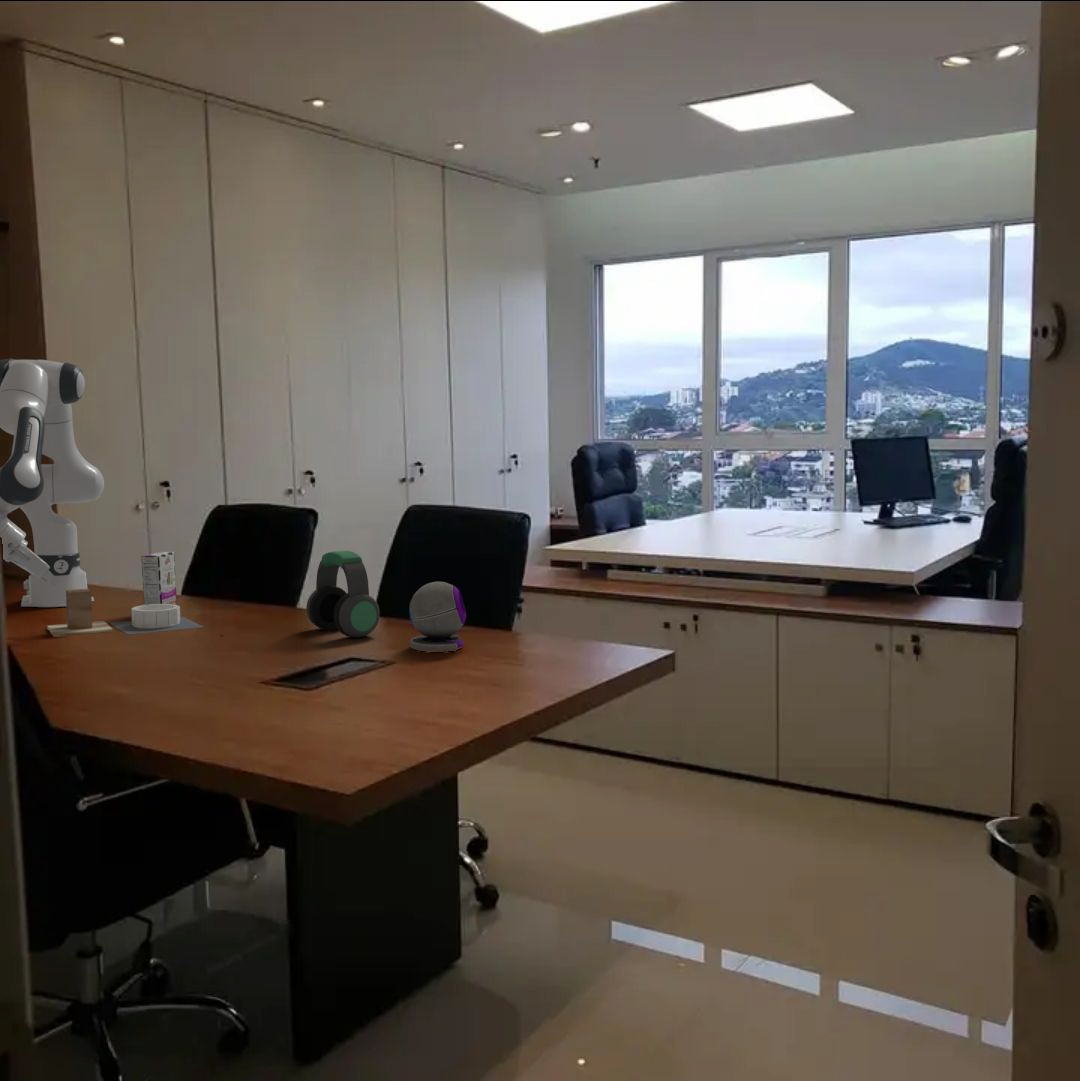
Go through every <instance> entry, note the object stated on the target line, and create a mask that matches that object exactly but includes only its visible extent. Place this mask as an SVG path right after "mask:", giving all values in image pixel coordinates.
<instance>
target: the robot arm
mask: <svg viewBox="0 0 1080 1081" xmlns="http://www.w3.org/2000/svg"><path fill="white" fill-rule="evenodd" d="M85 387H86V382H85V377H84V374H83V370H81V368H80V367H79V366H78V365H76V364H73V363H69V362H59V361H55V360H46V359H14V358H5V359H0V429H1V430H3V431H4V432H5V433H8V434H10V435H11V436H13V442H12V449H11V454H10V457H9V459H8V460H7V461H6V462H5V464H3V465H2V466H1V467H0V537H1V538H2V544H3V560H4V561H5V562H7V563H10V562H11V563H13V564H14V565H16V566H18V567H19V568H21V569H23V570H24V571H26V572H28V573H29V576H28V579H25V581H23V590H26V591H25V594H26V595H22V599H21V604H20V607H23V608H24V607H25V608H26V607H37V608H58V607H66V590H72V589H88V581H87V573H86V572H85V571H84V570H83V569H81V567H80V565H81V555H80V552H79V550H78V549H79V548H78V543H79V542H78V528H77V525H76V523H75V522H74V521H72V520H71V519H70V518H68V517H64V516H63V515H60V514H58V513H56V512H55V511H54V510H53V509H52V506H53V505H55V504H56V505H58V504H59V505H60V504H62V505H63V504H64V505H65V504H83V503H84V504H85V503H90V502H93V501H98V499H99V498H101V496H102V494H103V492H104V489H105V478H104V476H103V474H102V472H101V471H100V470H99V469H98V468H97V467H96V466H94V465H93V464H91V463H90V462H89V461H87V460H86V459H85V458H84V457H83V456H82V454H81V452H80V451H79V449H78V447H77V444H76V440H75V439H76V438H75V435H74V434H75V433H74V422H73V421H74V419H73V409H72V404H75V403H77V402H78V401H80V399H82V398H83V394H84V391H85ZM43 455H44V456H46V457H48V458H50V459H51V460H52V461H53V462H54V463H49V464H48V463H47V464H46V463H45V464H42V456H43ZM19 508H20V510H21V511H22V512H23V513H24V514H25V516H26V517H27V519H28V522H29V523H30V526H31V530H32V536H33V537H32V538H33V546H34V548H33V549H34V551H32V550H31V549H30V548H29V547H27V545H28V544H29V543H28V541H27V540H25V538H26V536H27V533H26V532H25V531H24V530H22V529H21V528H20V527H19V526H18V525H17V524H15V523H14V522H13V521H12V520H11V519H9V518H8V514H11V513H12V512H13V511H15V510H17V509H19ZM94 601H95V598H94V596H91V602H94Z"/></svg>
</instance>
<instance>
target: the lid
mask: <svg viewBox="0 0 1080 1081" xmlns="http://www.w3.org/2000/svg"><path fill="white" fill-rule="evenodd" d="M91 597H92V590H91V589H89V588H87V589H72V590H66V606H65V607H66V623H61V624H50V625H49V624H48V625H46V626H47V631H48V630H49V631H50V632H51V633H50V632H49V631H48V632H49V633H50V635H51V634H52V635H53V636H54V637H60V638H64V637H63V636H74V635H84V634H85V635H87V634H97V633H99V634H100V633H111V632H112V633H113V632H114V629H113V628H112V627H111V626H110V624H108V623H107V622H106V621H104V620H99V621H93V609H92V608H93V607H92V602H93V601H91ZM52 635H51V636H52ZM53 636H52V637H53ZM54 637H53V638H54Z"/></svg>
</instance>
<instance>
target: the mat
mask: <svg viewBox="0 0 1080 1081" xmlns="http://www.w3.org/2000/svg"><path fill="white" fill-rule="evenodd" d="M109 625H112V626H113V627H115V628H117V629H118V630H120V631H122V632H123V633H124V634H126V635H137V634H147V633H148V634H149V633H159V632H160V633H161V632H166V631H167V632H168V631H179V630H189V629H200V628H204V626H203V625H200V624H198V623H196V622H195V621H192V620H190V619H188V618H186V617H184V616H180V624H179V625H178V626H175V627H170V628H161V629H139V628H134V627H133V623H132V620H130V621H129V620H128V621H117V622H109Z"/></svg>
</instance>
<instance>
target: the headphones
mask: <svg viewBox="0 0 1080 1081" xmlns="http://www.w3.org/2000/svg"><path fill="white" fill-rule="evenodd" d="M340 568H341V569H342V570H343V572H344V576H345V580H346V584H347V586H346V587H347V592H346V591H345V590H344V589H343V588H341V587H338V585H337V583H338V582H337V580H338V573H339V570H340ZM315 583H316V584H315V585H316V586H315V587H316V588H315V590H314V591H312V593H311V594H310V595H309V597H308V599H307V602H306V609H305V610H306V614H307V618H308V619H309V621H310V622H311V623H312V624H313V625H314V626H315V627H317V628H319V629H321V630H323V631H328V630H331V631H335V630H338V631H339V633H341V634H342V635H343V636H346V637H349V638H363V637H366V636H368V635H370V634H372V632H374V630H375V629H376V627H377V626H378V624H379V621H380V614H381V613H380V606H379V604H378V602H377V600H375V598H374V597H372V596H371V595H370V589H369V579H368V573H367V571H366V566H365V564H364V562H363V559H362V557H361V556H360V555H359V554H358V553H357V552H354V551H351V550H339V551H335V550H334V551H329V552H326V553H325V554H323V555H322V556H321V560H320V562H319V565H318V568H317V572H316V582H315Z"/></svg>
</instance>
